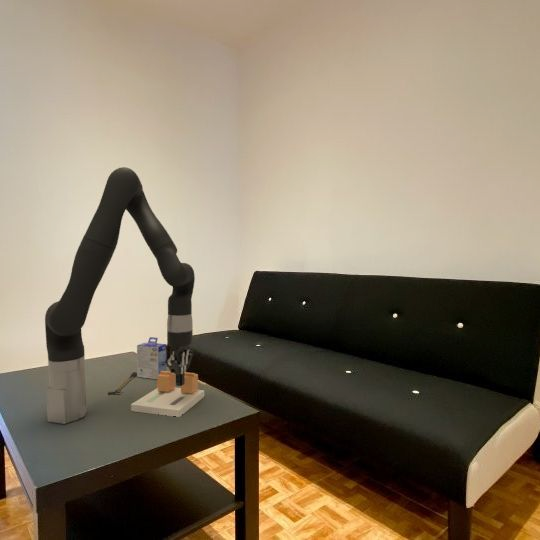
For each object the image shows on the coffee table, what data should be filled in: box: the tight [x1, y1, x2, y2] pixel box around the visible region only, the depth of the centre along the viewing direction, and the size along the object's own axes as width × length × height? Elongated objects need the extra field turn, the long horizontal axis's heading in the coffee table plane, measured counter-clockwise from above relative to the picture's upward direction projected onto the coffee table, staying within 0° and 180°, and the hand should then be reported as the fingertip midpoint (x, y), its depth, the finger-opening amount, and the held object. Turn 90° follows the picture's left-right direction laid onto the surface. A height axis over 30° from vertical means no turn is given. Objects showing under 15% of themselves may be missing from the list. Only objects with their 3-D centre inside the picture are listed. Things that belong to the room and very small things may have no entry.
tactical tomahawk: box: [107, 371, 137, 396], centre depth 139 cm, size 21×7×1 cm, turn 177°
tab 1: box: [156, 370, 176, 392], centre depth 127 cm, size 4×4×6 cm
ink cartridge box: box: [136, 336, 168, 380], centre depth 147 cm, size 10×6×14 cm, turn 71°
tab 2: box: [180, 371, 199, 394], centre depth 125 cm, size 4×4×6 cm
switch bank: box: [130, 386, 205, 418], centre depth 121 cm, size 16×16×2 cm
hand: (180, 385), depth 119 cm, fingers closed
